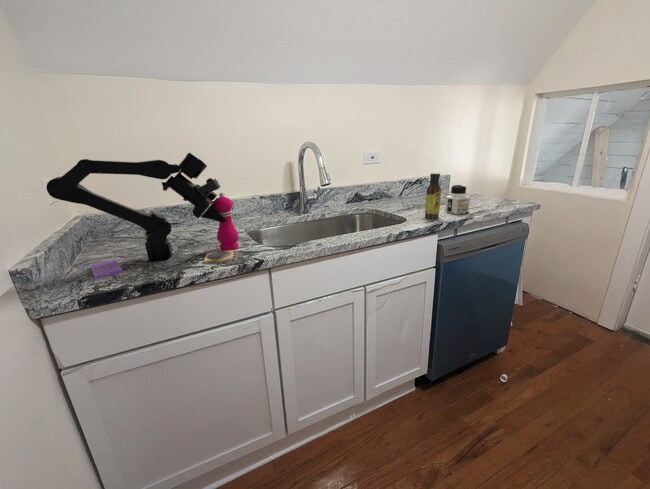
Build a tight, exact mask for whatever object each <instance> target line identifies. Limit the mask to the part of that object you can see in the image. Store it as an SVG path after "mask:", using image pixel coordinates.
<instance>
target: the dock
mask: <svg viewBox="0 0 650 489" xmlns="http://www.w3.org/2000/svg"><path fill="white" fill-rule="evenodd" d="M234 251H235V250H228V251H221V250H220V251H219V250H218V251H210V252H206V254H205V257H204V259H203V264H214V263H223V262H232V260H233V256H234Z"/></svg>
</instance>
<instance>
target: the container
mask: <svg viewBox="0 0 650 489" xmlns="http://www.w3.org/2000/svg"><path fill="white" fill-rule="evenodd" d="M466 194H467V186H466V185H463V184H455V185H452V186H451V191H450V195H447V196H445V207H444V212H445V213H448V212H449V214H452V213H454V214H453V215H461V213H463V214H466V212H468V213H469V210H470V204H471V201H470V200H471V197H470V196H467V195H466Z"/></svg>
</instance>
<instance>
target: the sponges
mask: <svg viewBox="0 0 650 489" xmlns="http://www.w3.org/2000/svg"><path fill="white" fill-rule="evenodd" d="M89 266H90V270H91V272H92V274H93V277H94V280H100V279H102V278H106V277H107V278H108V277H111V276H114V275H119V274H122V273H124V272H123V268H122V266H121V265H120V264H119V262H118V260H117V259H116V258H112V259H108V260H104V261H100V262H98V263H97V262H95V263H91V264H90V265H89Z"/></svg>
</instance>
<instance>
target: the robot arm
mask: <svg viewBox="0 0 650 489" xmlns="http://www.w3.org/2000/svg"><path fill="white" fill-rule="evenodd" d="M207 167H208V165H207V164H206V163H205V162H204V161H203V160H202V159H200V158H198V157H196V156H195V155H194V154H192V153H191V152H188V153H186V155H185V157H184V158H183V159H182V160H181V161H180V163H179V164H176V163H174V164H171V163H168V162H167V161H166V160H163V159H153V160H152V159H151V160H144V161H135V162H134V161H118V160H117V161H115V160H97V159H96V160H95V159H89V158H84V159H80V160H78V162H77V163H76V165H74V166H72V168H70V169H69V170H68V171H67V172H65V173H64V174H63V175H62V176H57V177H55V178H52V179H50V180H49V181H48V182H47V183H46V191H47V194H48V195H49V196H50V197H51V198H53V199H55V200H59V201H62V202H63V201H64V202H67V203H74V204H78V205H86V206H88V207H90V208H93V209H96V210H99V211H102V212H103V213H107V214H108V215H111V216H114V217H117V218H118V219H121V220H124V221H127V222H129V223H132V224H135V225H137V226H139V227H140V228H142V229H143V230H145V232H144V238H145V240H146V241H145V242H144V246H145V250H146V254H147V260H146V263H153V262H163V261H164V262H165V261H169V259H171V257H172V256H173V254H174V253H173V248H172V243H171V242H170V241H169V238H167V237H168V236H169V235H170V234H171V233H172V226H171V224H170V222H169V220H168V219H167V218H166V217H165V215H164V214H159V213H157V212H155V211H154V210H152V209H151V210H150V212H149V213H145V212H142V211H139V210H137V209H134V208H132V207H130V206H127V205H124V204H121V203H119V202H116V201H114V200H112V199H109V198H107V197H105V196H102V195H100V194H97V193H95V192H92V191H91V190H89V189H88V188H86V187H85V186H83V185H82V184H80V183H81V182H82V181H83V180H85V178H86V177H88V176H89V175H91V174H101V175H102V174H103V175H108V174H109V175H128V176H129V175H133V176H134V175H135V176H142V177H146V178H152V179H157V180H166V181H164V182H163V181H162V182H161V185H162V190H163V191H164V192H167V191H168V190H169V189H171V190H172V191H173V192H175V193H176V194H177V195H179V196H180V197H182V200H183V201H184V202H188V203H190V204H191V205H193V206H194V207H193V209H192V216H194V217H195V218H197V219H199V218H200V217H201V219H208V220H211V221H217V222H218V223H219V222H223V223H225V222H226V219H225V218H224V217H223V216H222V215H221V214H220V213H219V212H218V211H217V210H216V209H215V205H214V202H215V200H216V199H217V198H219V197H217V196H218V194H217V193H215V191H217V190H219V189H220V188H221V185H220V184H219V181H218V180H217V178H214V179H213V178H212V177H210V178H208V179H206V182H205V184H203V185H200V184H195V183H193V182H192V181H191V180H192V179H196V180H197V179H198V178H199V176H200V175H201V174H202V173H203V172H204V171H205V170H206V169H207ZM172 174H176V175H175V176H173V175H172ZM183 174H184V175H185V176H184V175H183ZM188 178H189V179H188Z"/></svg>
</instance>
